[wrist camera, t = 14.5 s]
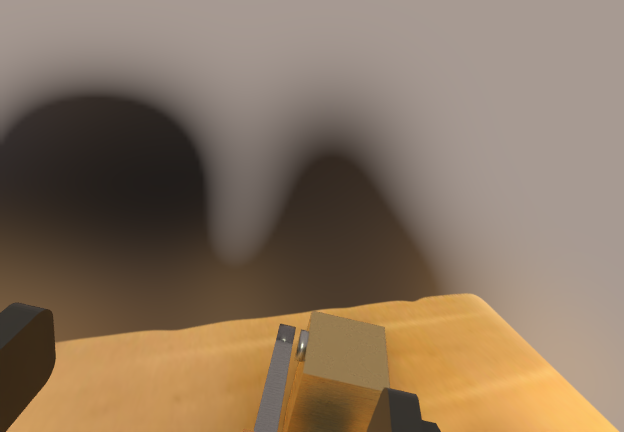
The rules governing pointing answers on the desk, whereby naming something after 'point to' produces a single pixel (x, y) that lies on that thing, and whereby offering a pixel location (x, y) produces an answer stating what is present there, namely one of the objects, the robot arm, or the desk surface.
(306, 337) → the block
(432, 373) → the desk surface
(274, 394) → the lever
